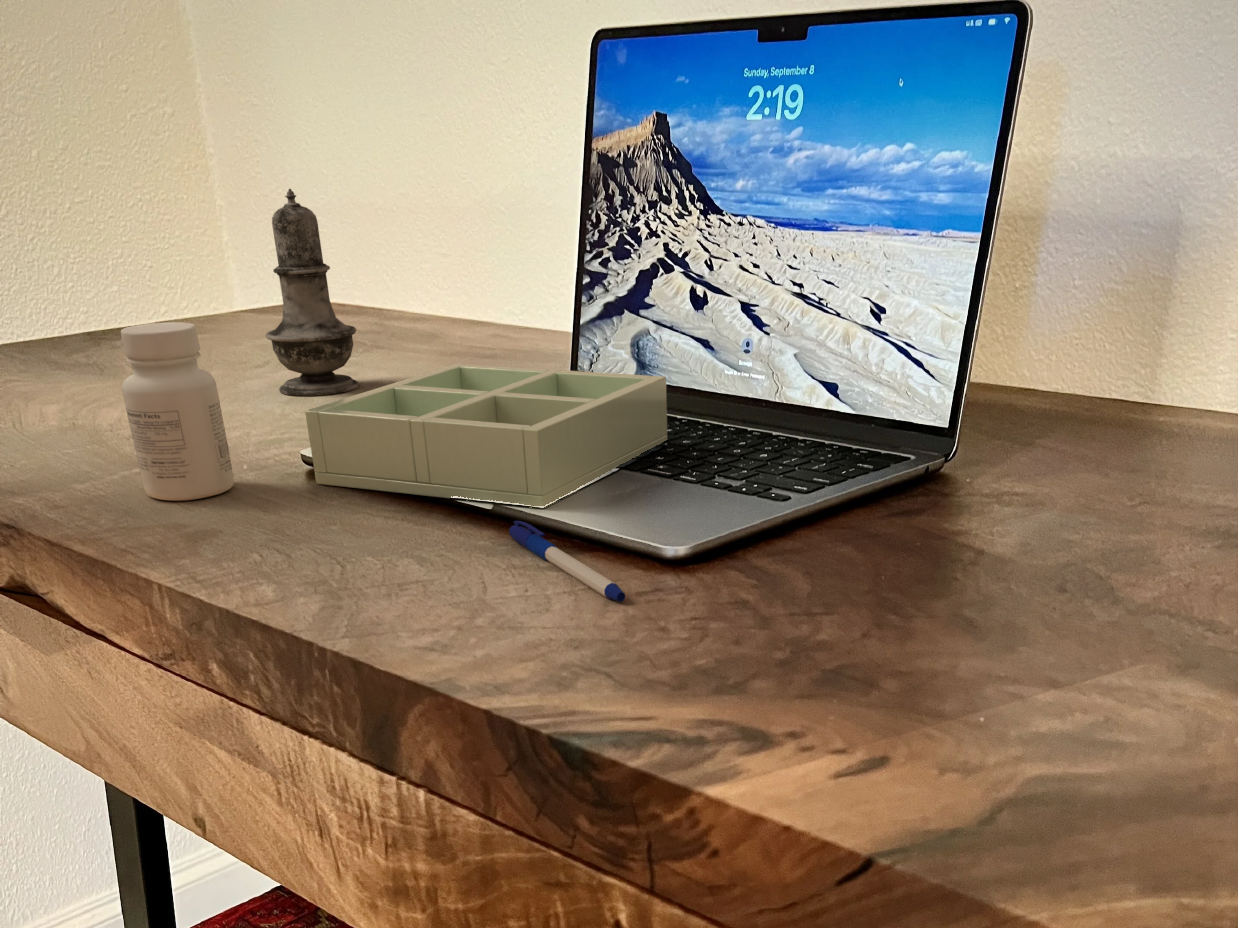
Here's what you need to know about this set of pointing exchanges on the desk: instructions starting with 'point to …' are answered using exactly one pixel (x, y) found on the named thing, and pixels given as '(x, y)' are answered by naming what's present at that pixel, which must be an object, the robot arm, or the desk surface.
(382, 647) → the desk surface
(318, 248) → the salt shaker
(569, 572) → the ballpoint pen
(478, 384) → the tray
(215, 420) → the pill bottle
